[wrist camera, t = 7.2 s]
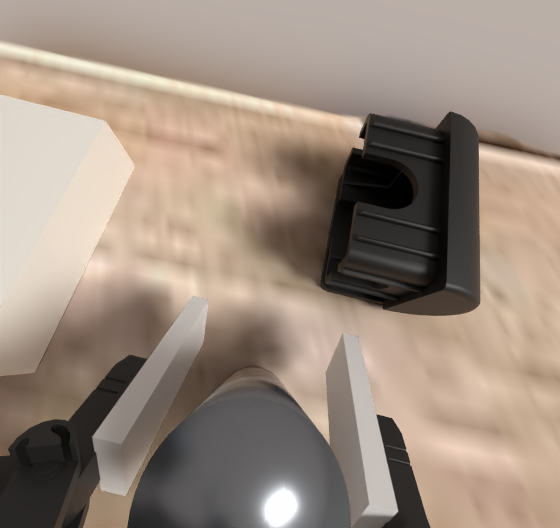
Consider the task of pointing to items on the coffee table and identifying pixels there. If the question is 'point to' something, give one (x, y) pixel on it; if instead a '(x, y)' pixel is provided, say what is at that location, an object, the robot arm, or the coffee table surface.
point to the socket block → (49, 218)
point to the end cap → (408, 219)
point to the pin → (243, 465)
